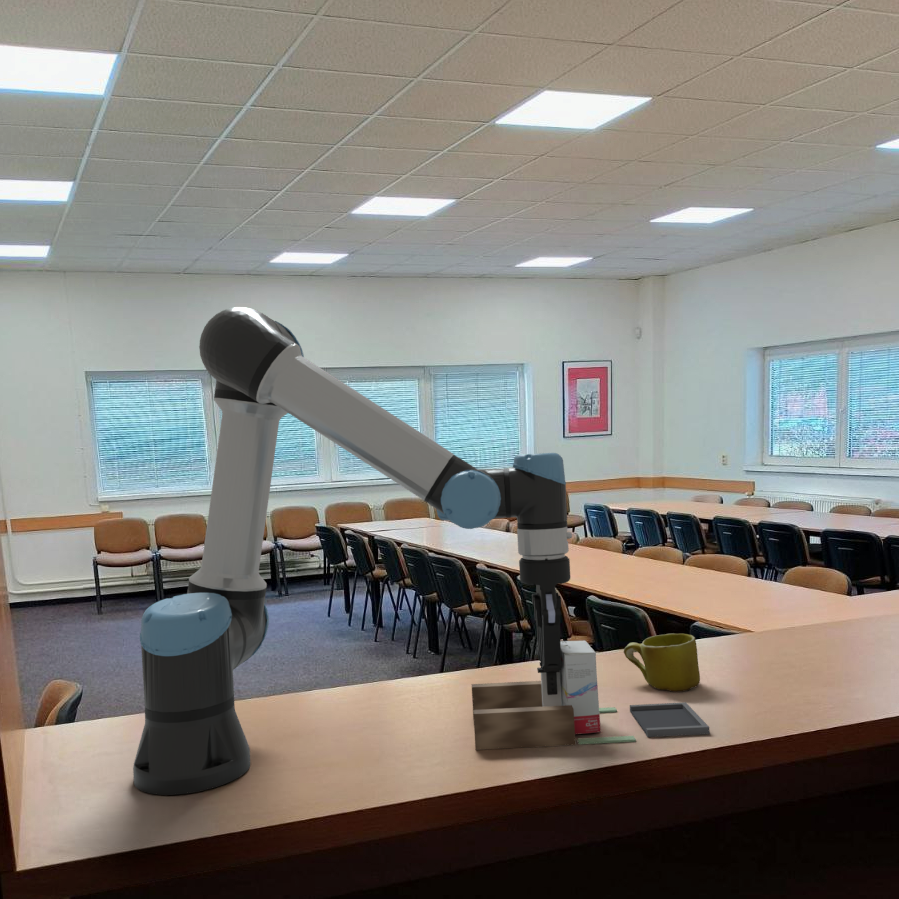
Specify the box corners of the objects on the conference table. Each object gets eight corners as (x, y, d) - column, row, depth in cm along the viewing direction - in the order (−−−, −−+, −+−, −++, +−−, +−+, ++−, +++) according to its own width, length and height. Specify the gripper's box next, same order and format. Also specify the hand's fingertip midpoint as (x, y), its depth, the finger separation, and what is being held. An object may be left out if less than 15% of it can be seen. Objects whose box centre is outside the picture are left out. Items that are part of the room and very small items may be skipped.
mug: (715, 668, 140) (696, 618, 139) (701, 702, 132) (680, 649, 131) (651, 674, 147) (632, 626, 146) (633, 706, 139) (613, 656, 138)
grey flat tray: (647, 737, 114) (647, 729, 114) (629, 711, 125) (629, 705, 125) (709, 734, 114) (709, 726, 114) (686, 708, 125) (685, 702, 125)
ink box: (601, 734, 116) (598, 652, 116) (566, 736, 116) (564, 653, 116) (589, 715, 124) (587, 639, 125) (556, 716, 124) (554, 640, 125)
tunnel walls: (475, 749, 112) (473, 713, 112) (473, 715, 127) (471, 684, 127) (575, 744, 112) (573, 709, 112) (561, 711, 127) (559, 679, 127)
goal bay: (578, 744, 112) (578, 742, 112) (564, 711, 127) (564, 709, 127) (635, 741, 112) (635, 739, 112) (615, 709, 127) (614, 707, 127)
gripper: (575, 560, 114) (584, 727, 113) (563, 549, 127) (571, 699, 126) (522, 562, 114) (531, 729, 113) (515, 552, 127) (523, 702, 126)
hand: (552, 713), depth 120 cm, fingers closed
